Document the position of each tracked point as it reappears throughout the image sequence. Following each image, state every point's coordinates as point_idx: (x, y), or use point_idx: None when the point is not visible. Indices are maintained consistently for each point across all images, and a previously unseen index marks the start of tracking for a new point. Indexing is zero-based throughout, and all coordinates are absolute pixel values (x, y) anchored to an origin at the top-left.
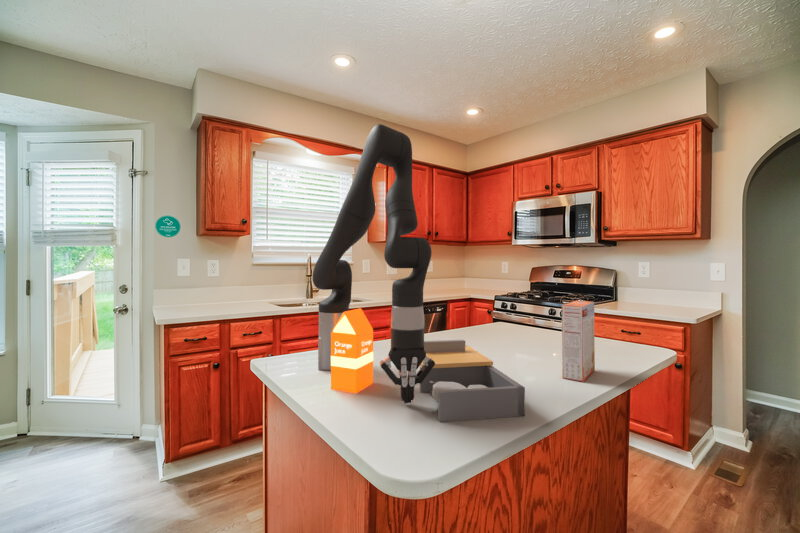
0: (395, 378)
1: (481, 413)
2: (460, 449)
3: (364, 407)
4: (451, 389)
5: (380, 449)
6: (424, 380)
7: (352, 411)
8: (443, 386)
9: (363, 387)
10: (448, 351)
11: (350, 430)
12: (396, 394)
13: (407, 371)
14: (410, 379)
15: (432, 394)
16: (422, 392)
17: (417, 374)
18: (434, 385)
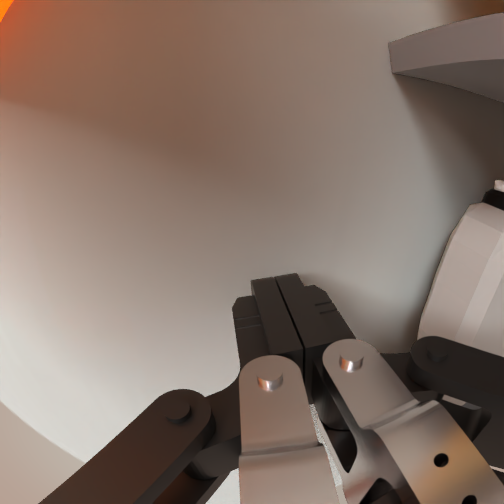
0: (195, 496)
1: None
2: (339, 474)
3: (35, 299)
4: (499, 345)
5: None
6: (468, 69)
7: (11, 334)
8: (501, 318)
9: (4, 6)
10: None
11: (76, 440)
12: (211, 72)
13: (375, 433)
14: (339, 456)
15: (437, 288)
16: (401, 74)
17: (447, 394)
18: (482, 304)
